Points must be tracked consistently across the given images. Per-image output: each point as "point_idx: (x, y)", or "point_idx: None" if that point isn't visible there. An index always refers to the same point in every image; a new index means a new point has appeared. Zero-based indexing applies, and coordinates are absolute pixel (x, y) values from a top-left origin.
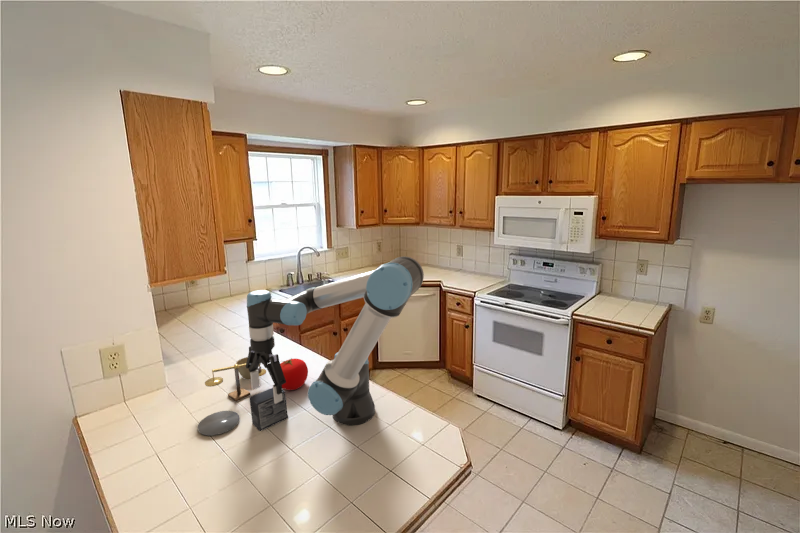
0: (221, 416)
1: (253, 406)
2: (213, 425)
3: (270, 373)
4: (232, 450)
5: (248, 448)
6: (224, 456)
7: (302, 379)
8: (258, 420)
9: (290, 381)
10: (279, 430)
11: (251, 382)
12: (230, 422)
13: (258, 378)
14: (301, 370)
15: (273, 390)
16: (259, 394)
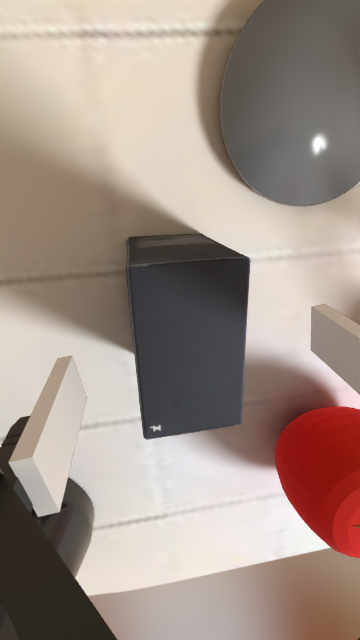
0: (345, 132)
1: (180, 252)
2: (307, 64)
3: (31, 593)
4: (62, 73)
5: (32, 145)
6: (36, 14)
7: (282, 487)
8: (131, 246)
9: (294, 457)
10: (80, 302)
11: (354, 326)
12: (265, 148)
13: (349, 381)
14: (308, 523)
15: (43, 417)
16: (225, 320)
